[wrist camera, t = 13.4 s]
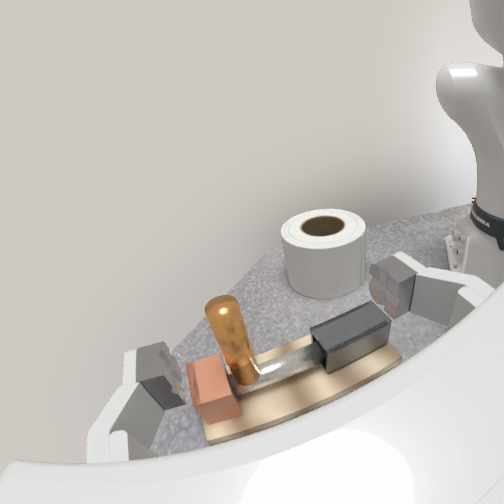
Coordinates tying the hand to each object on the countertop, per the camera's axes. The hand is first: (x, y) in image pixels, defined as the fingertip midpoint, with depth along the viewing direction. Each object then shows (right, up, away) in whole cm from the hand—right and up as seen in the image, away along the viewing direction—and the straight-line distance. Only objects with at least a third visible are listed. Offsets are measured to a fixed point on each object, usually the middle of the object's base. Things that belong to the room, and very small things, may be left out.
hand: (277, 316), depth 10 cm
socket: (-5, -17, +23) cm, 29 cm away
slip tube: (+2, -14, +23) cm, 27 cm away
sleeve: (+13, -11, +26) cm, 31 cm away
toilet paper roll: (+14, -2, +44) cm, 46 cm away
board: (+5, -15, +25) cm, 30 cm away
